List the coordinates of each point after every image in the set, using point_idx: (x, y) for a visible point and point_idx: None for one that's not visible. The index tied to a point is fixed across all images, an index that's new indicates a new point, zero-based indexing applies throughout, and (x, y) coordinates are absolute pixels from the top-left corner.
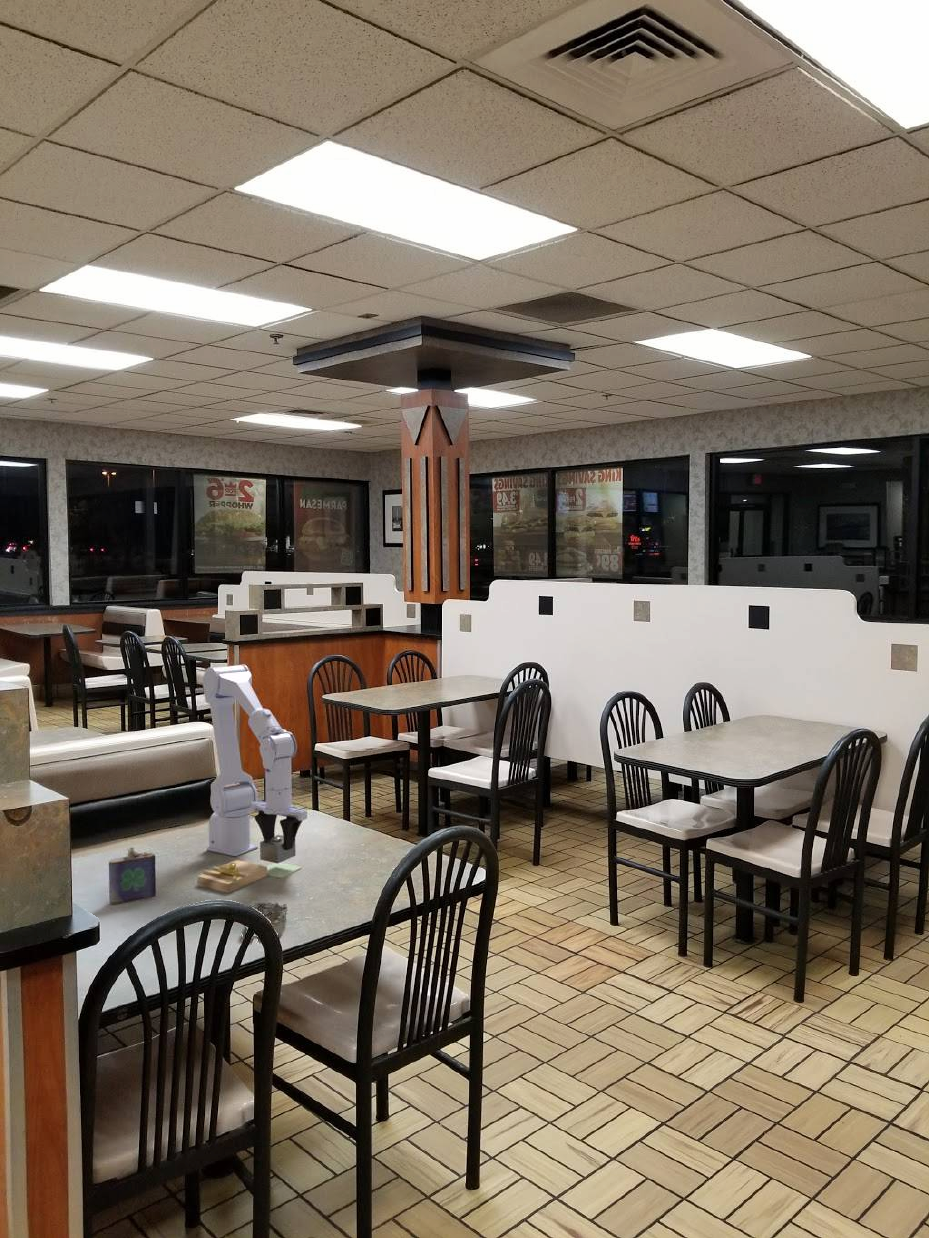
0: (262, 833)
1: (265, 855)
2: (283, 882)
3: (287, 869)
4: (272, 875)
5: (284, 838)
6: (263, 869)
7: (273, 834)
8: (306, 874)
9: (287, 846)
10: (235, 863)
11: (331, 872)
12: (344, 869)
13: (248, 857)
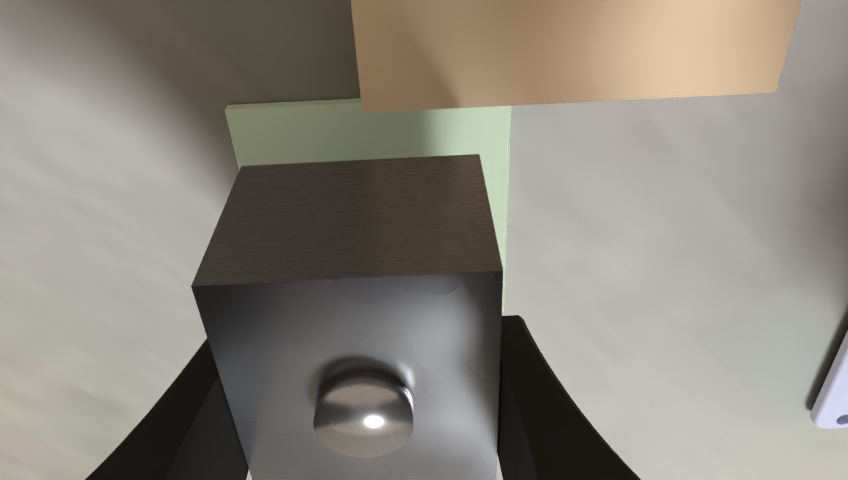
0: (567, 408)
1: (409, 187)
2: (118, 39)
3: None
4: (322, 100)
5: (174, 423)
6: (358, 57)
7: (504, 469)
8: (148, 260)
9: (193, 362)
10: (728, 8)
11: (59, 361)
12: (53, 424)
13: (778, 279)
